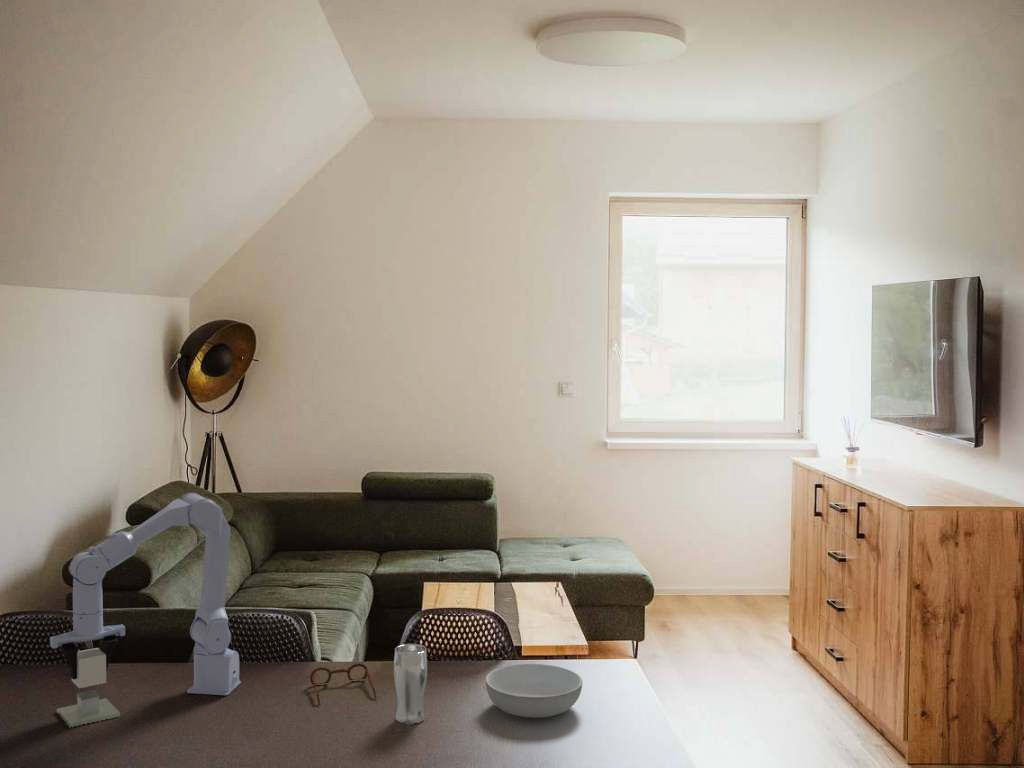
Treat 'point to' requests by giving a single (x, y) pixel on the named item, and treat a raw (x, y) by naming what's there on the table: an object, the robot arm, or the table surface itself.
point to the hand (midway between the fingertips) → (88, 674)
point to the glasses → (339, 672)
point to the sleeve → (90, 668)
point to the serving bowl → (533, 689)
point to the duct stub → (88, 710)
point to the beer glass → (410, 682)
